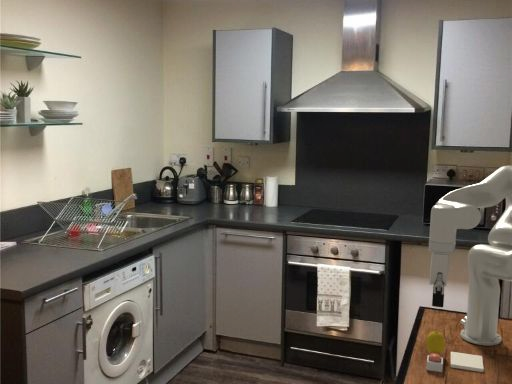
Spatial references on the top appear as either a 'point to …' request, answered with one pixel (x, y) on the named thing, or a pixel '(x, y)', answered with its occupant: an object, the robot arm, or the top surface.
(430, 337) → the lemon
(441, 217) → the robot arm
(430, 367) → the button base
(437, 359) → the button
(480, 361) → the paper pad
